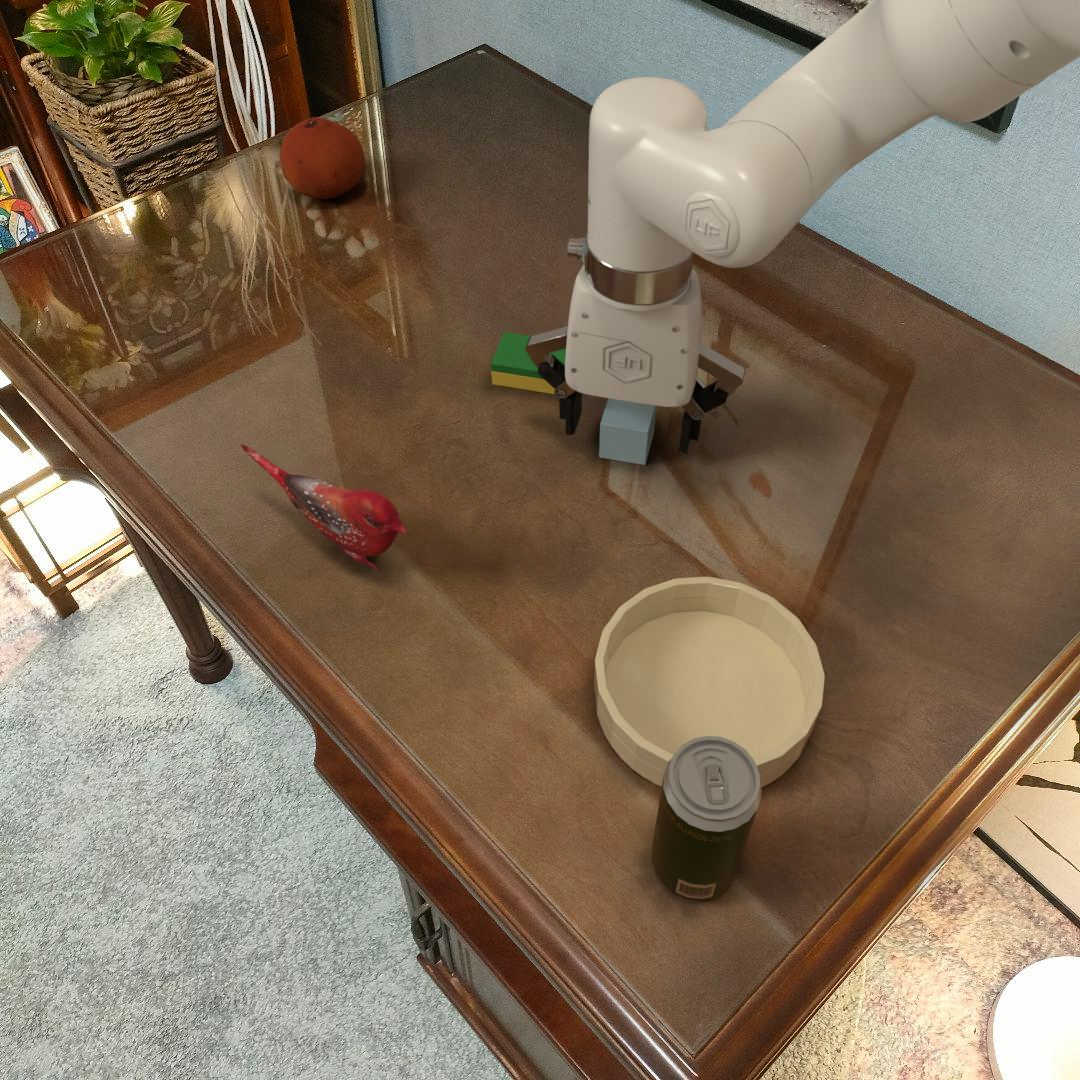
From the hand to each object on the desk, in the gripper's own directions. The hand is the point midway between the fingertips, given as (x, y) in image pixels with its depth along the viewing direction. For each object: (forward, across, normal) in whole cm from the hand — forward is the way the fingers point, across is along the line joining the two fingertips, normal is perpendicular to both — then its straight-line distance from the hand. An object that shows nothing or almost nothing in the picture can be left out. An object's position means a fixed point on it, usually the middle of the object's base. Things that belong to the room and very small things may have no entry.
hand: (629, 432), depth 86 cm
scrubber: (+2, -10, +7) cm, 12 cm away
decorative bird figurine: (+2, -20, -16) cm, 26 cm away
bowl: (+2, +10, -23) cm, 25 cm away
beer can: (+2, +11, -35) cm, 37 cm away
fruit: (+2, -40, +31) cm, 51 cm away
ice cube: (+2, 0, 0) cm, 2 cm away
